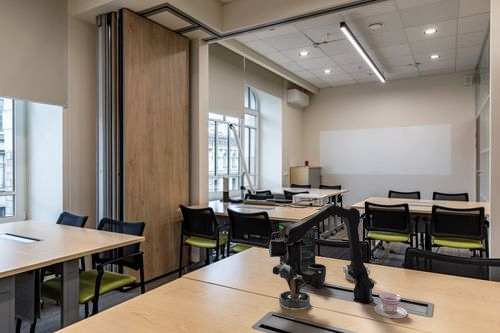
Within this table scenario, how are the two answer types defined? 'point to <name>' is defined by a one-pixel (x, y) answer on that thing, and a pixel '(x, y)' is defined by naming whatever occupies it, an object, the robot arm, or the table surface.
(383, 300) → the teacup
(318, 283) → the mug
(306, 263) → the headset box
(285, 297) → the tin
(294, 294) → the tan wooden plank
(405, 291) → the table surface
